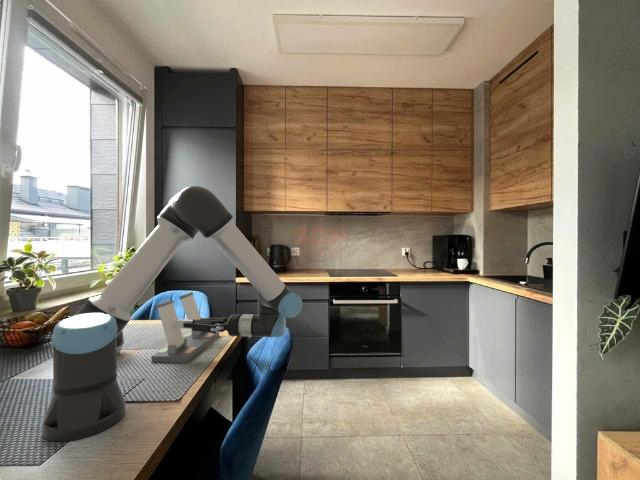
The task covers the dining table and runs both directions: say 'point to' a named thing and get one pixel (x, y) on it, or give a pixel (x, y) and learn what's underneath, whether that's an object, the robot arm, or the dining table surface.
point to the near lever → (170, 324)
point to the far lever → (190, 307)
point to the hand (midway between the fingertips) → (176, 323)
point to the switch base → (185, 348)
